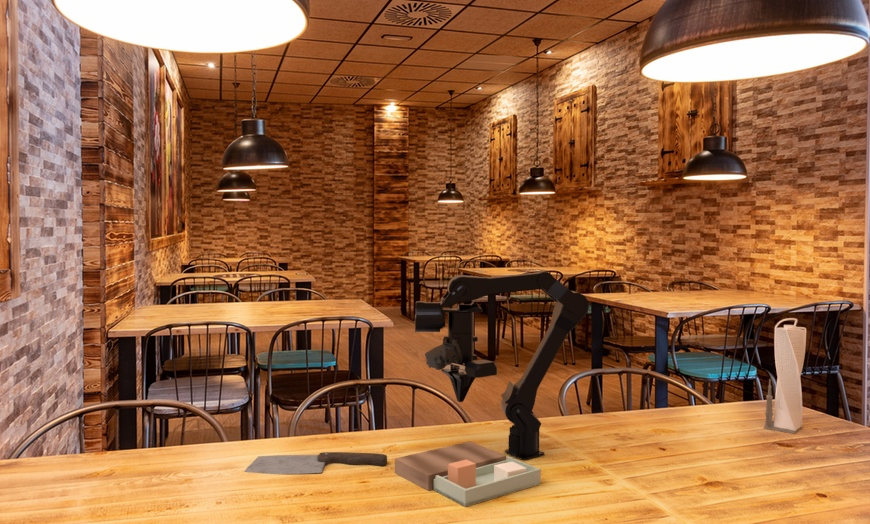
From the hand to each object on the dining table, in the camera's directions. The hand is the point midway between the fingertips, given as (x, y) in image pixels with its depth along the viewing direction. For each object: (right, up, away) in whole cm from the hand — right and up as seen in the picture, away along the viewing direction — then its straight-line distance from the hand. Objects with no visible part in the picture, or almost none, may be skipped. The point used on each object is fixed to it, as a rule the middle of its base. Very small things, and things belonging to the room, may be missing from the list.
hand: (460, 401), depth 149 cm
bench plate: (-2, -12, -10) cm, 16 cm away
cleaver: (-31, -13, -7) cm, 34 cm away
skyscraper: (+84, -12, +22) cm, 88 cm away
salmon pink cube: (-1, -10, -19) cm, 22 cm away
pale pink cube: (+9, -9, -17) cm, 22 cm away
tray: (+5, -13, -19) cm, 23 cm away
